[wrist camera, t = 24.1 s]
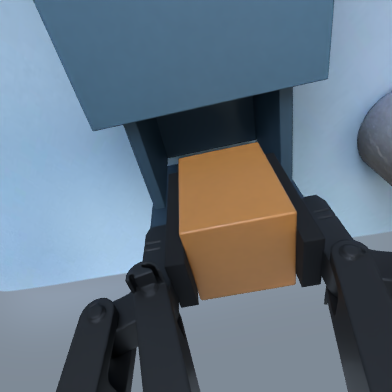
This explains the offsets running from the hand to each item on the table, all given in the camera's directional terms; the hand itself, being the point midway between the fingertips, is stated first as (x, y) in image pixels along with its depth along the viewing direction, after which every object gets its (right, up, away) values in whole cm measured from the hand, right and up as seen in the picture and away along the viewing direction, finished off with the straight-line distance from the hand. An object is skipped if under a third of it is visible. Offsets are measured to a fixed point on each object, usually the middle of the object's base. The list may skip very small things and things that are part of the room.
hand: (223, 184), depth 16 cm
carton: (0, 0, 0) cm, 0 cm away
